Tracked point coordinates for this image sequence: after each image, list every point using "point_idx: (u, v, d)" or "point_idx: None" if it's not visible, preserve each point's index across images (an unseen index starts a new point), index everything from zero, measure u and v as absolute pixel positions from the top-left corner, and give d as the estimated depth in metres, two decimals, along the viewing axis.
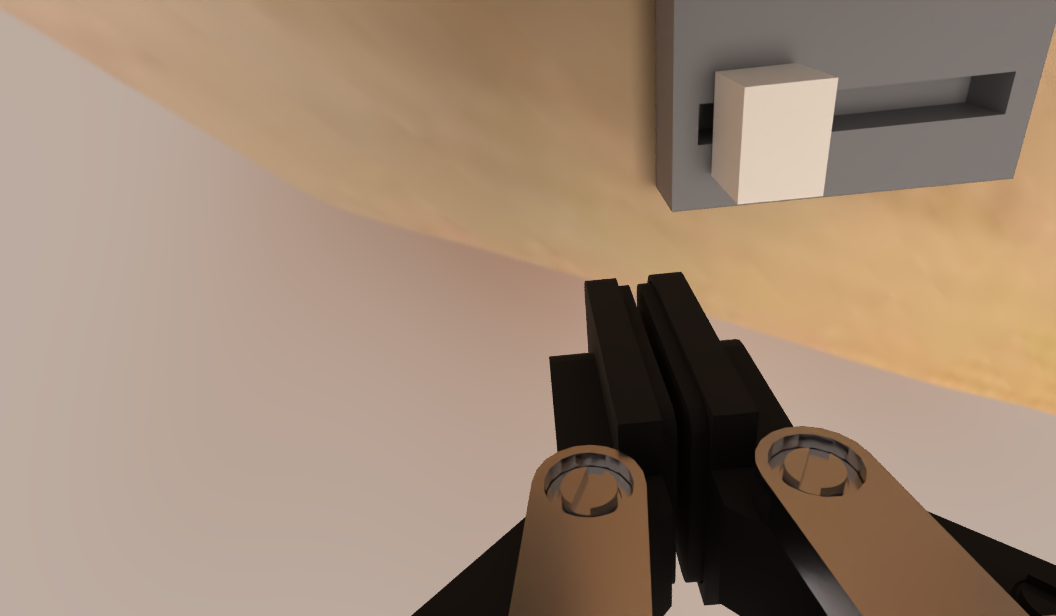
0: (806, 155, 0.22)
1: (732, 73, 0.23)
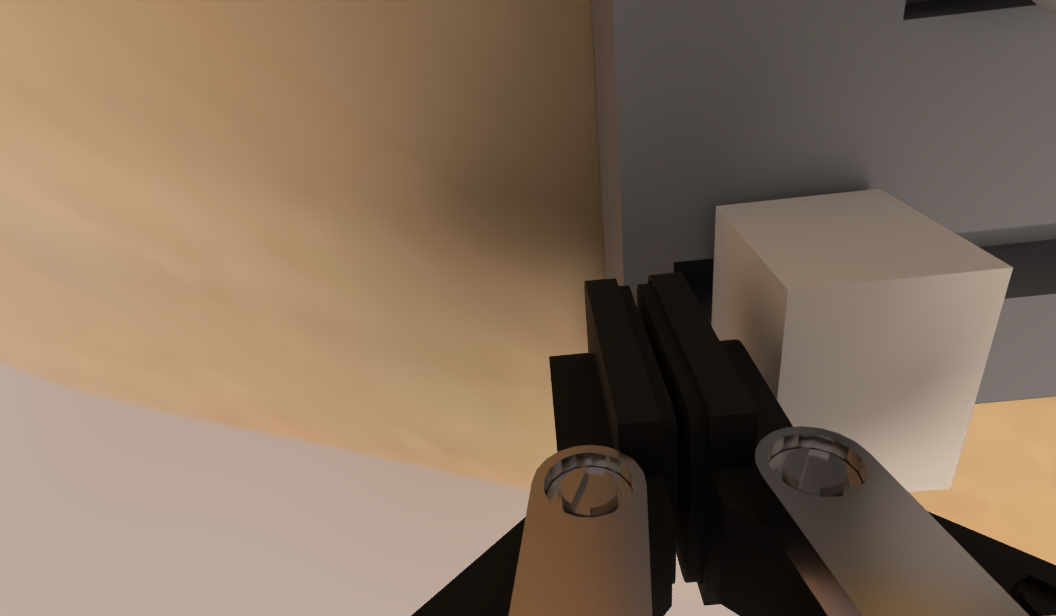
0: (921, 418, 0.10)
1: (752, 218, 0.11)
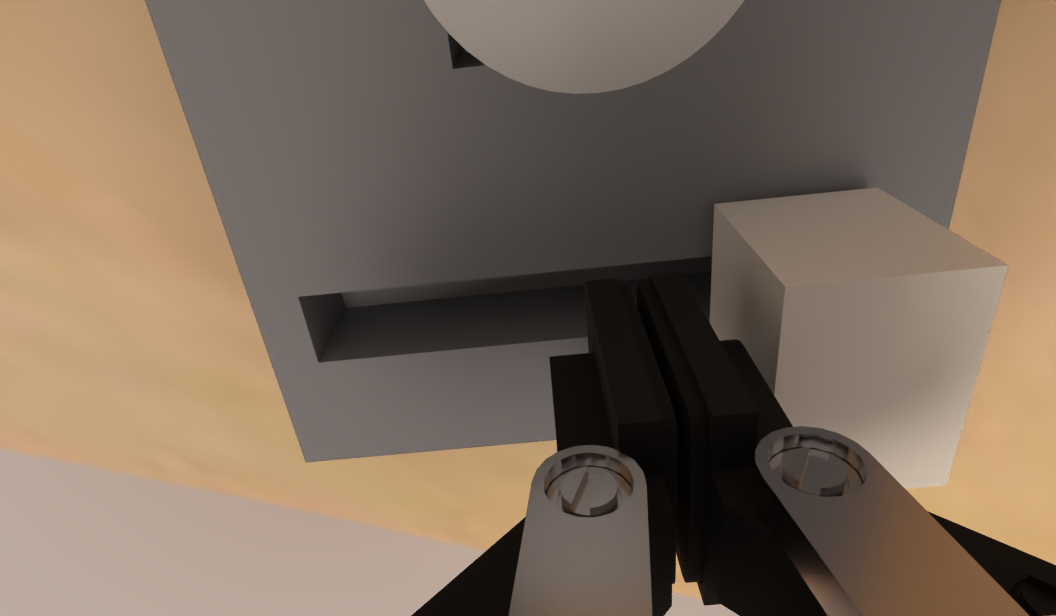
0: (917, 415, 0.10)
1: (750, 216, 0.11)
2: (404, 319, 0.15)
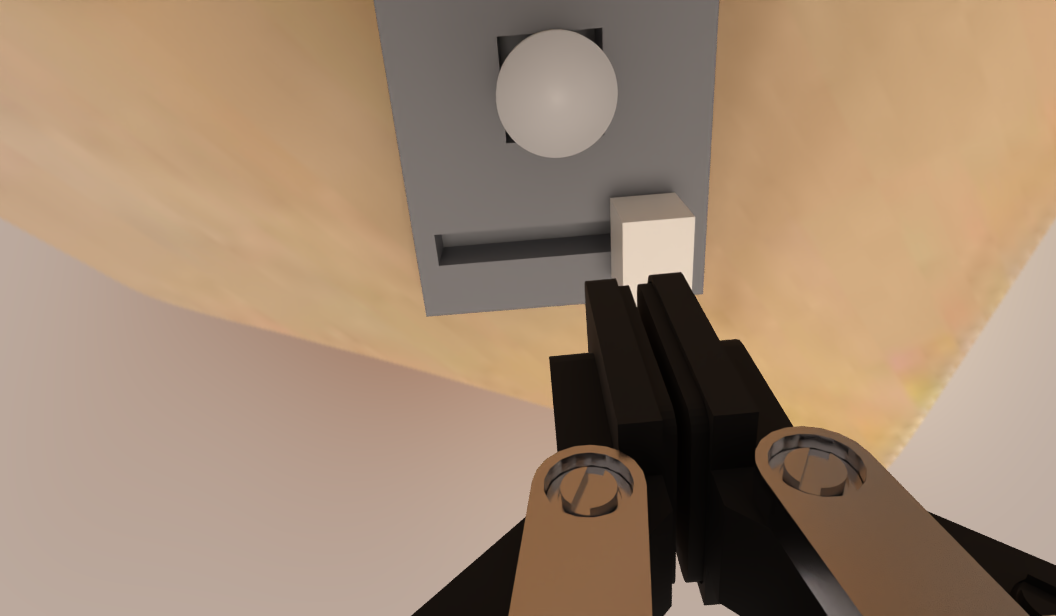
0: None
1: (621, 202, 0.28)
2: (473, 250, 0.32)
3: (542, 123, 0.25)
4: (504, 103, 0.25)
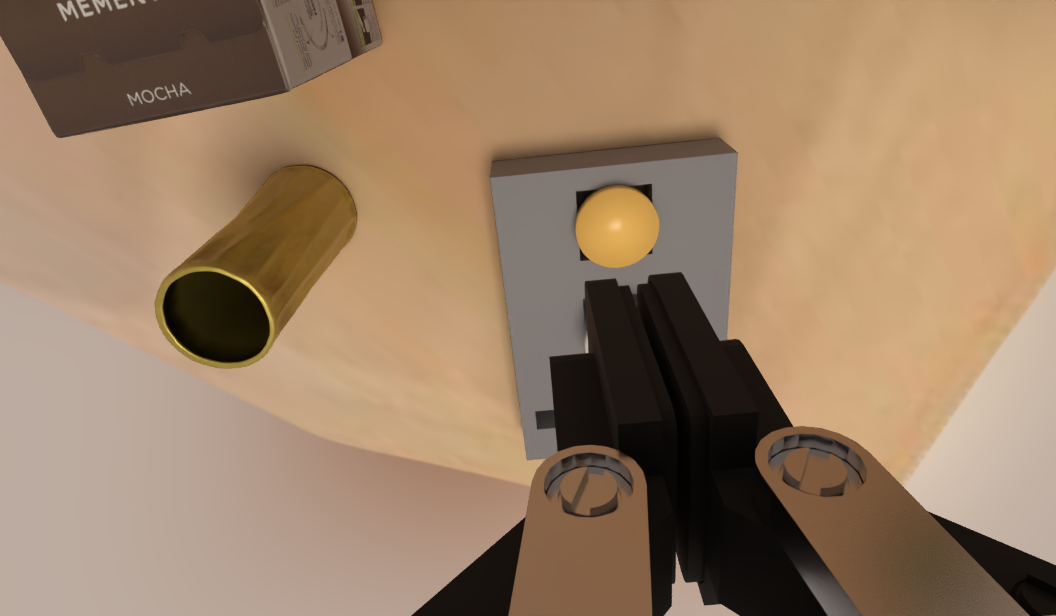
0: None
1: None
2: None
3: None
4: None
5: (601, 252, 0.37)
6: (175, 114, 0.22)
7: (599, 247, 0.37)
